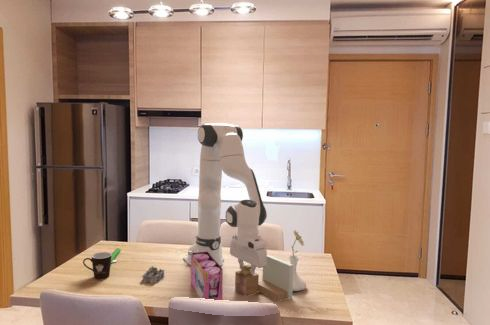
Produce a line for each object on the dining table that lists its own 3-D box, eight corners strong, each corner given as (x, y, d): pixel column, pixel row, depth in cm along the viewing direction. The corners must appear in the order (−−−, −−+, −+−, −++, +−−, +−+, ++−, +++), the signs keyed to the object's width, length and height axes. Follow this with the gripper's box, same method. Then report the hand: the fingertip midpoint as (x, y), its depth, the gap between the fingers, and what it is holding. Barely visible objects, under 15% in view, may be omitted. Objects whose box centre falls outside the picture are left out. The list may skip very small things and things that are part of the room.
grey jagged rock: (152, 273, 175) (152, 265, 174) (166, 275, 172) (167, 267, 172) (139, 282, 165) (139, 273, 164) (154, 284, 162) (154, 275, 162)
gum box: (224, 304, 146) (224, 270, 144) (204, 307, 143) (204, 272, 142) (207, 280, 168) (208, 251, 167) (190, 282, 165) (190, 252, 164)
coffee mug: (115, 274, 171) (115, 253, 171) (103, 281, 163) (102, 259, 162) (95, 270, 175) (95, 250, 174) (81, 277, 167) (81, 256, 166)
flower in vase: (305, 295, 155) (308, 236, 153) (278, 292, 157) (280, 234, 155) (306, 282, 168) (308, 228, 166) (281, 280, 170) (283, 226, 168)
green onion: (114, 254, 202) (98, 272, 172) (114, 248, 202) (98, 265, 172) (123, 254, 202) (109, 272, 173) (123, 248, 202) (109, 265, 173)
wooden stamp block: (234, 290, 158) (235, 265, 157) (245, 286, 162) (246, 261, 161) (246, 296, 152) (247, 270, 151) (258, 292, 156) (258, 267, 155)
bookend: (253, 288, 160) (254, 257, 159) (265, 284, 164) (266, 253, 163) (280, 302, 148) (281, 268, 147) (292, 297, 152) (293, 264, 151)
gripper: (226, 234, 161) (226, 265, 163) (258, 247, 146) (257, 281, 147) (238, 232, 165) (237, 262, 167) (269, 244, 150) (268, 277, 151)
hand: (247, 271), depth 157 cm, fingers open, 5 cm apart
